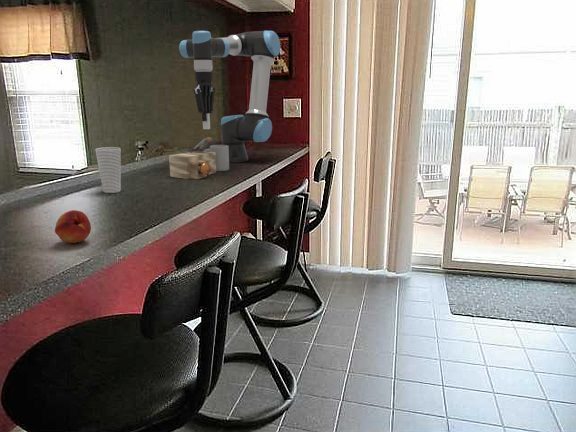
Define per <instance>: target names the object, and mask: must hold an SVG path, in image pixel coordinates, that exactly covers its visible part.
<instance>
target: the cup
mask: <svg viewBox="0 0 576 432" xmlns="http://www.w3.org/2000/svg"><path fill="white" fill-rule="evenodd" d="M94 151H95V155H96V162H97V167H98V173H99V178H100V182H101V187H102V188H101V189H102V191H103V193H105V194H113V193H119V192H121V191H122V185H121V183H122V177H121V176H122V175H121V174H122V173H121V172H122V168H121V167H122V162H121V161H122V159H121V158H122V157H121V156H122V154H121V153H122V152H121V151H122V149H121V147H117V146H106V147H96V148H95V149H94Z"/></svg>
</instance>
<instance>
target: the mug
mask: <svg viewBox="0 0 576 432" xmlns="http://www.w3.org/2000/svg"><path fill="white" fill-rule="evenodd" d="M203 151H204V152H215V153H216V172H226V171H230V162H229V148H228V145H222V144H213V145H210V146H209V148H206V149H204V150H203Z"/></svg>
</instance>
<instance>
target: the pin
mask: <svg viewBox="0 0 576 432" xmlns="http://www.w3.org/2000/svg"><path fill="white" fill-rule="evenodd" d="M198 171H200V173H201V174H203V175H206V176H207V175H210V174H209V173H210V171H211V166H210V164H208V163H202V164H201V165H198Z"/></svg>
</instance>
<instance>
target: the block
mask: <svg viewBox="0 0 576 432" xmlns="http://www.w3.org/2000/svg"><path fill="white" fill-rule="evenodd" d="M192 149H193V148H188V152H183V153H182V152H181V153H176V154H170V155H168V159H169V160H168V162H169V175H170V176H169V177H171V178H177V179H179V178H180V179H185V180H188V179H195V180H198V179H199V180H200V179H204V178H207V175H203V174H201V173H200V171H198V165H201V164H202V163H208V164H210V166H211V171H210V173H209V174H208V175H212V174H216V173H217V171H216V153H215V152H204V151H205V150H203V148H202V149H201V150H200V151H195V152H193V151H192Z"/></svg>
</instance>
